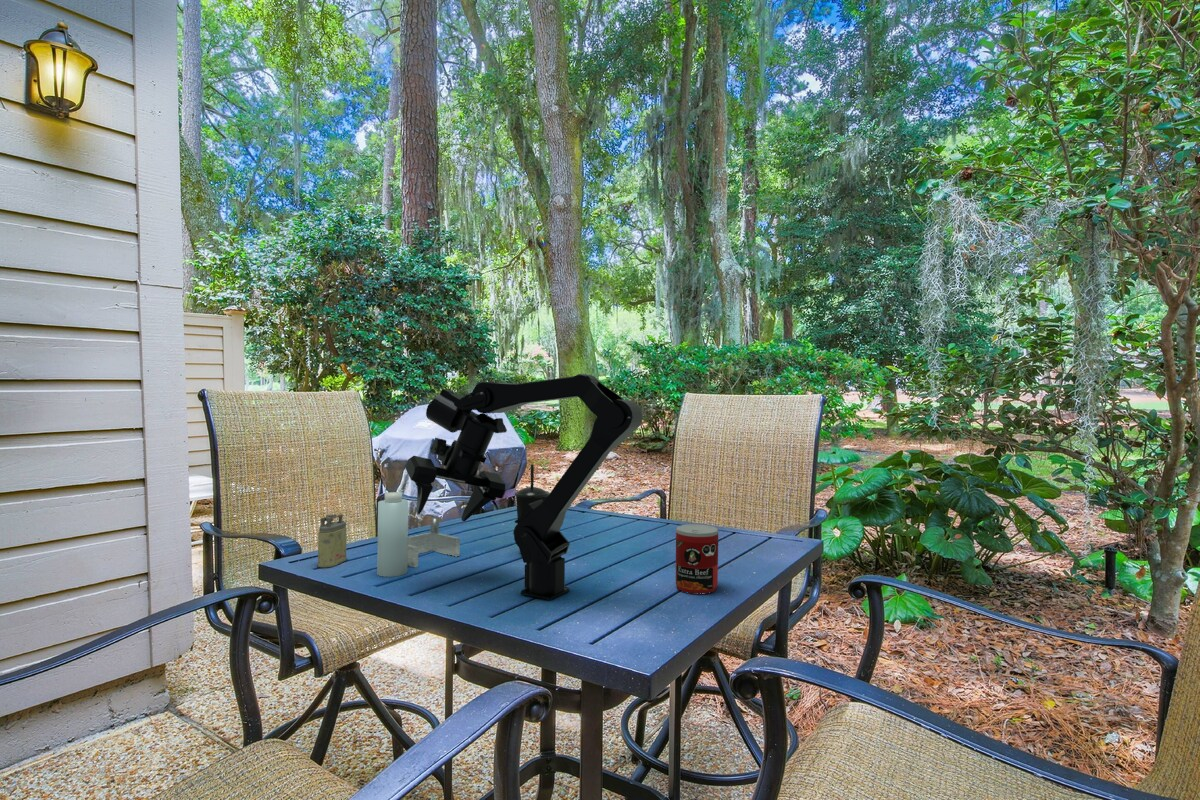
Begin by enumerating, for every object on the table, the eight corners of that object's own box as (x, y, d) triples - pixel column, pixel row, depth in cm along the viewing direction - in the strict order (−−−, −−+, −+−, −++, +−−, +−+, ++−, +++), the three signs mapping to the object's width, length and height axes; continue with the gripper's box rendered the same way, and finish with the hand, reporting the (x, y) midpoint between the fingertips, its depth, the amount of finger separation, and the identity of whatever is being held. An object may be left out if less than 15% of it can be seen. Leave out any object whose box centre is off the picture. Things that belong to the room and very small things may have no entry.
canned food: (670, 591, 105) (671, 530, 105) (681, 579, 112) (681, 522, 113) (713, 597, 102) (713, 535, 102) (721, 584, 110) (721, 526, 110)
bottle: (413, 571, 116) (414, 492, 116) (390, 578, 111) (391, 496, 111) (393, 567, 118) (394, 490, 119) (370, 573, 114) (371, 494, 114)
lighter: (335, 558, 124) (335, 511, 124) (351, 559, 124) (352, 512, 124) (313, 567, 117) (314, 518, 117) (330, 568, 117) (331, 519, 117)
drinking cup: (551, 550, 133) (552, 462, 133) (544, 559, 126) (545, 466, 126) (518, 549, 134) (519, 462, 134) (510, 557, 126) (511, 465, 127)
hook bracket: (462, 555, 128) (463, 523, 128) (414, 567, 118) (414, 533, 118) (435, 548, 134) (435, 517, 134) (386, 559, 124) (387, 526, 124)
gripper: (500, 438, 121) (471, 504, 123) (414, 415, 110) (384, 488, 112) (520, 461, 112) (489, 532, 114) (429, 439, 101) (396, 517, 103)
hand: (440, 516), depth 111 cm, fingers open, 9 cm apart
